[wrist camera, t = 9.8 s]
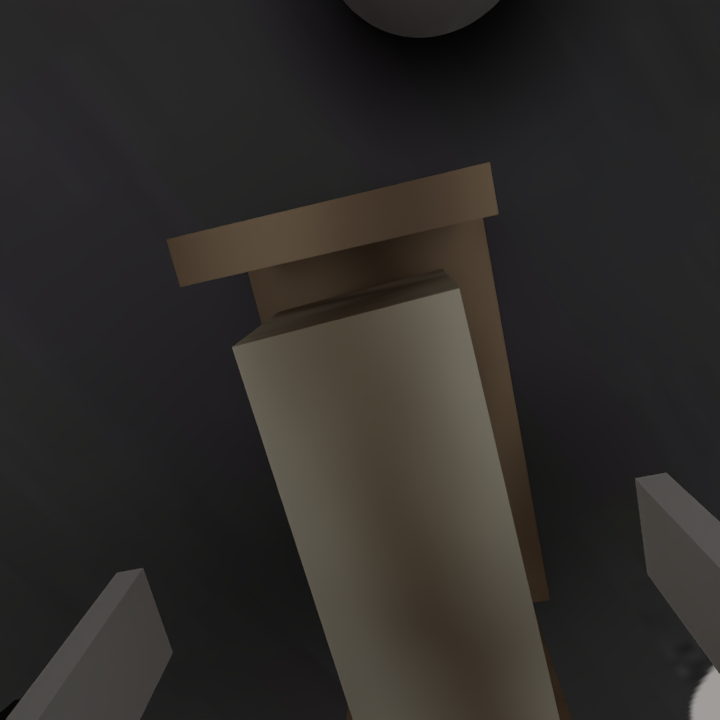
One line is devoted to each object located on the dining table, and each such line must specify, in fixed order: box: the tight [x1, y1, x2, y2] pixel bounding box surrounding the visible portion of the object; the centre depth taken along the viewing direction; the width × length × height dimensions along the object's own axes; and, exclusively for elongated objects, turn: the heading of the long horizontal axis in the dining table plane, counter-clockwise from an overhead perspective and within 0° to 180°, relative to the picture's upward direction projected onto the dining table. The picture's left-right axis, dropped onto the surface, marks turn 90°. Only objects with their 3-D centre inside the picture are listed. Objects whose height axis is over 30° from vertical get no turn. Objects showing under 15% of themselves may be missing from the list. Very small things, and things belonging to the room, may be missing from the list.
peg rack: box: [166, 162, 572, 720], centre depth 21 cm, size 10×19×11 cm, turn 13°
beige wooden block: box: [232, 269, 560, 720], centre depth 19 cm, size 6×14×6 cm, turn 15°
